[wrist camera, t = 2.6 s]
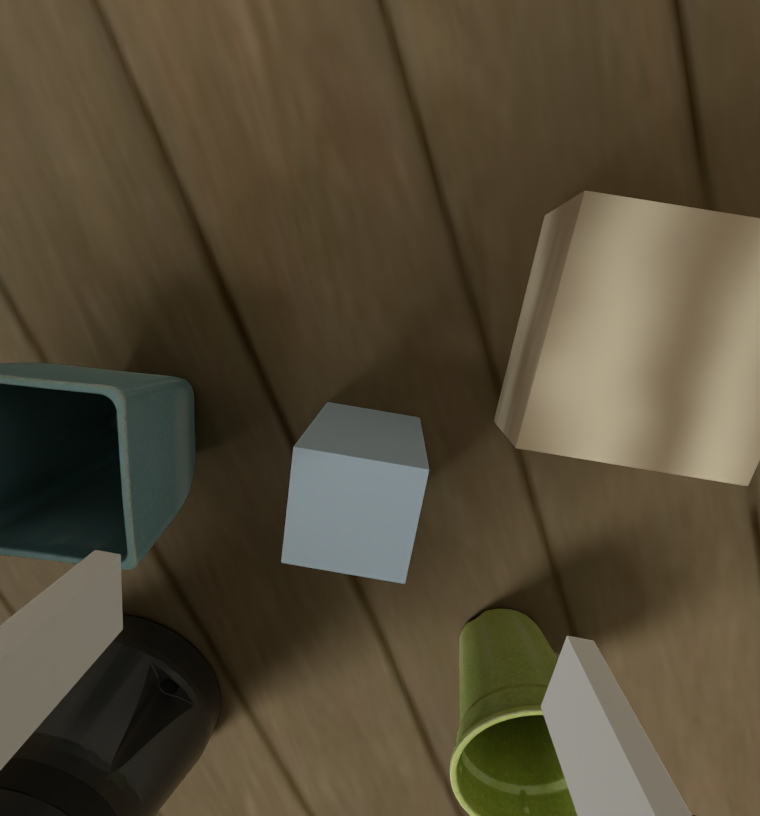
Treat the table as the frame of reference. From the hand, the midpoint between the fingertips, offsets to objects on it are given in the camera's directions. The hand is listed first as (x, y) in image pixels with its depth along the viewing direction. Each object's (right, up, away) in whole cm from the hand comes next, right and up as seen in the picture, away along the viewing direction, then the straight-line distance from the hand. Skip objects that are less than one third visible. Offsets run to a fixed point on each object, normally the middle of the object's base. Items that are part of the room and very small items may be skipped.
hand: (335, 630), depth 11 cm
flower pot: (-13, +6, +14) cm, 20 cm away
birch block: (+15, +11, +12) cm, 22 cm away
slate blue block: (0, +4, +14) cm, 14 cm away
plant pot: (+10, -11, +17) cm, 23 cm away
